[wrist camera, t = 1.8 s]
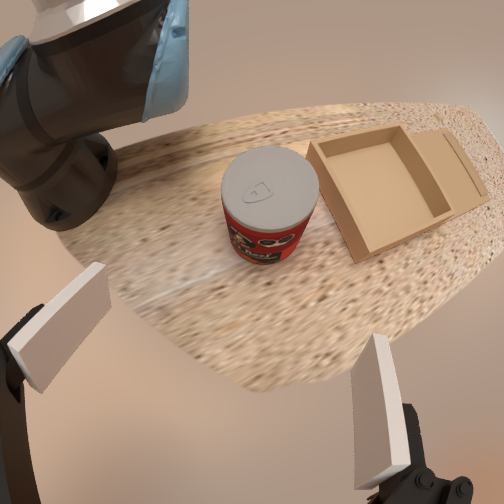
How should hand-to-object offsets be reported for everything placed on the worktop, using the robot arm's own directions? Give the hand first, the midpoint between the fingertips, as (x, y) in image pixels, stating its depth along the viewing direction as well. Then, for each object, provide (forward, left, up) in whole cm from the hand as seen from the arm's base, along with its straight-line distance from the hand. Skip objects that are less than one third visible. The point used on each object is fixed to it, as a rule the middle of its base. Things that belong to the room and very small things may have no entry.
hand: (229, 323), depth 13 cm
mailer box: (+9, +29, -17) cm, 35 cm away
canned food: (-4, +10, -18) cm, 21 cm away
